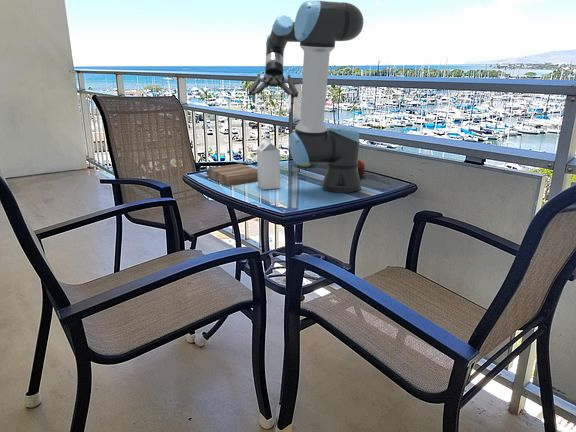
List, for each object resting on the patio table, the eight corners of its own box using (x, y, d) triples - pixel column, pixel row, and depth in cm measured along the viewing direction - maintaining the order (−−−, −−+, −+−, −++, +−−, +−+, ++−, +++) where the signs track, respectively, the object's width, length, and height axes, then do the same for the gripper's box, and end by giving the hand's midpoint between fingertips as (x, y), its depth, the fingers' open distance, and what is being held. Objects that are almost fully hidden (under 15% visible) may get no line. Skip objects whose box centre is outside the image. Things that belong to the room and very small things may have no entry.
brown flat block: (262, 180, 174) (261, 171, 173) (227, 186, 165) (227, 176, 164) (239, 171, 189) (239, 162, 188) (206, 176, 181) (206, 167, 179)
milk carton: (274, 184, 169) (274, 136, 163) (280, 188, 162) (279, 139, 156) (257, 185, 167) (256, 137, 160) (262, 190, 160) (261, 140, 154)
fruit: (357, 181, 174) (359, 157, 171) (338, 177, 180) (339, 154, 176) (368, 177, 181) (370, 154, 177) (350, 173, 186) (351, 151, 183)
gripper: (303, 73, 179) (303, 115, 172) (245, 71, 179) (242, 114, 171) (304, 61, 172) (304, 105, 165) (244, 59, 172) (241, 103, 164)
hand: (272, 109), depth 168 cm, fingers open, 13 cm apart
